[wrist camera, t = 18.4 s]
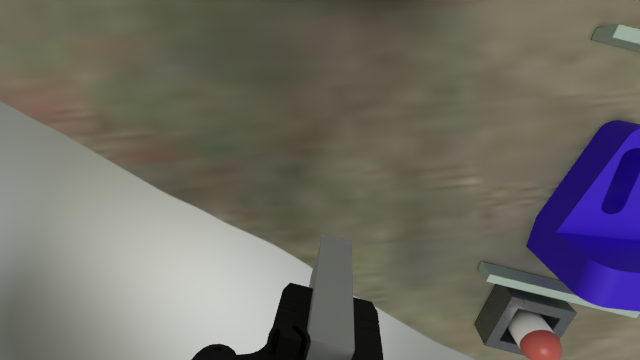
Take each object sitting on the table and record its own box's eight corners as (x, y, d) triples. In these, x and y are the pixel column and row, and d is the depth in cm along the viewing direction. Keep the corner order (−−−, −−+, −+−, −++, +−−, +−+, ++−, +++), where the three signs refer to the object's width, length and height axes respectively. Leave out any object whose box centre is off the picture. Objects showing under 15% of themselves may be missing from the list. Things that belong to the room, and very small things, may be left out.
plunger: (509, 296, 46) (540, 341, 38) (540, 304, 46) (578, 350, 39) (495, 321, 48) (522, 368, 40) (525, 329, 48) (558, 377, 40)
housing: (498, 278, 46) (512, 297, 42) (558, 292, 46) (576, 312, 42) (474, 324, 49) (484, 345, 45) (529, 337, 49) (545, 360, 45)
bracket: (606, 253, 43) (695, 317, 32) (525, 245, 44) (585, 305, 33) (665, 124, 37) (800, 148, 26) (570, 116, 38) (662, 137, 27)
